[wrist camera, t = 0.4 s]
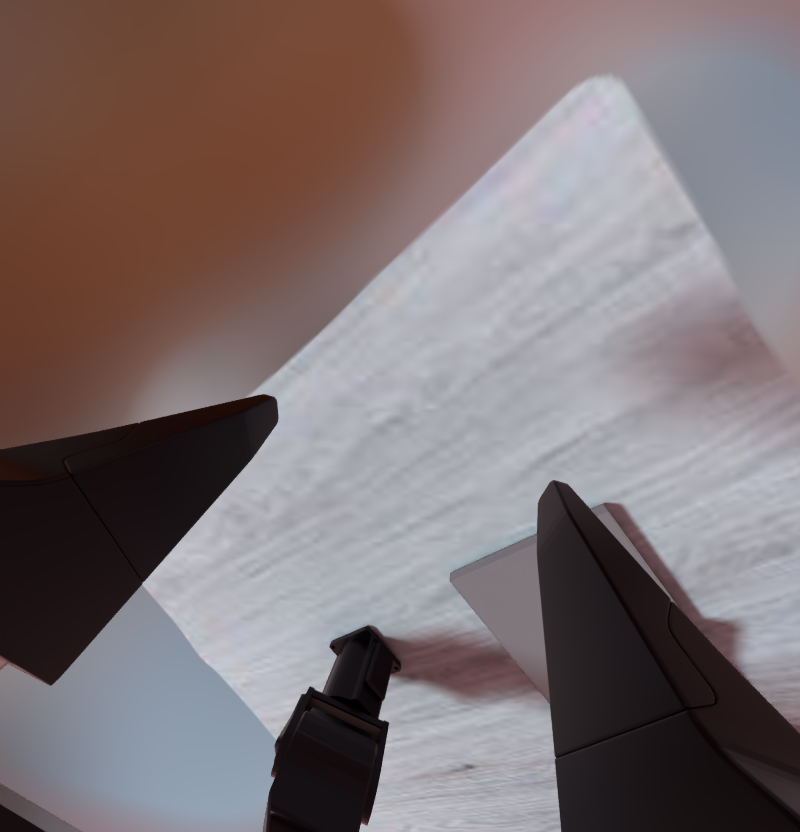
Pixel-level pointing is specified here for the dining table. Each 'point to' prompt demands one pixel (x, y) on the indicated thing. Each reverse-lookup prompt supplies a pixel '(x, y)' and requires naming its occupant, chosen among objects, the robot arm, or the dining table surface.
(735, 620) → the dining table surface
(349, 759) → the robot arm
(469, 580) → the board
